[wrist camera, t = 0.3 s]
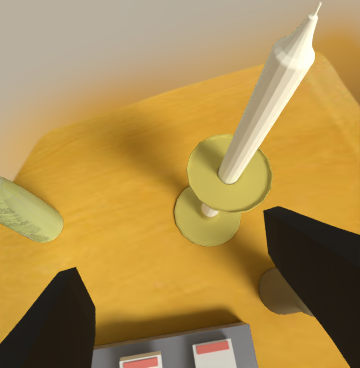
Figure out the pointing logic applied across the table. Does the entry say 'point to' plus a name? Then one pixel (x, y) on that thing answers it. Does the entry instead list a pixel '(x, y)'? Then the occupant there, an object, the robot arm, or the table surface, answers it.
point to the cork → (279, 294)
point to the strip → (180, 347)
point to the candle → (242, 148)
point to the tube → (28, 213)
